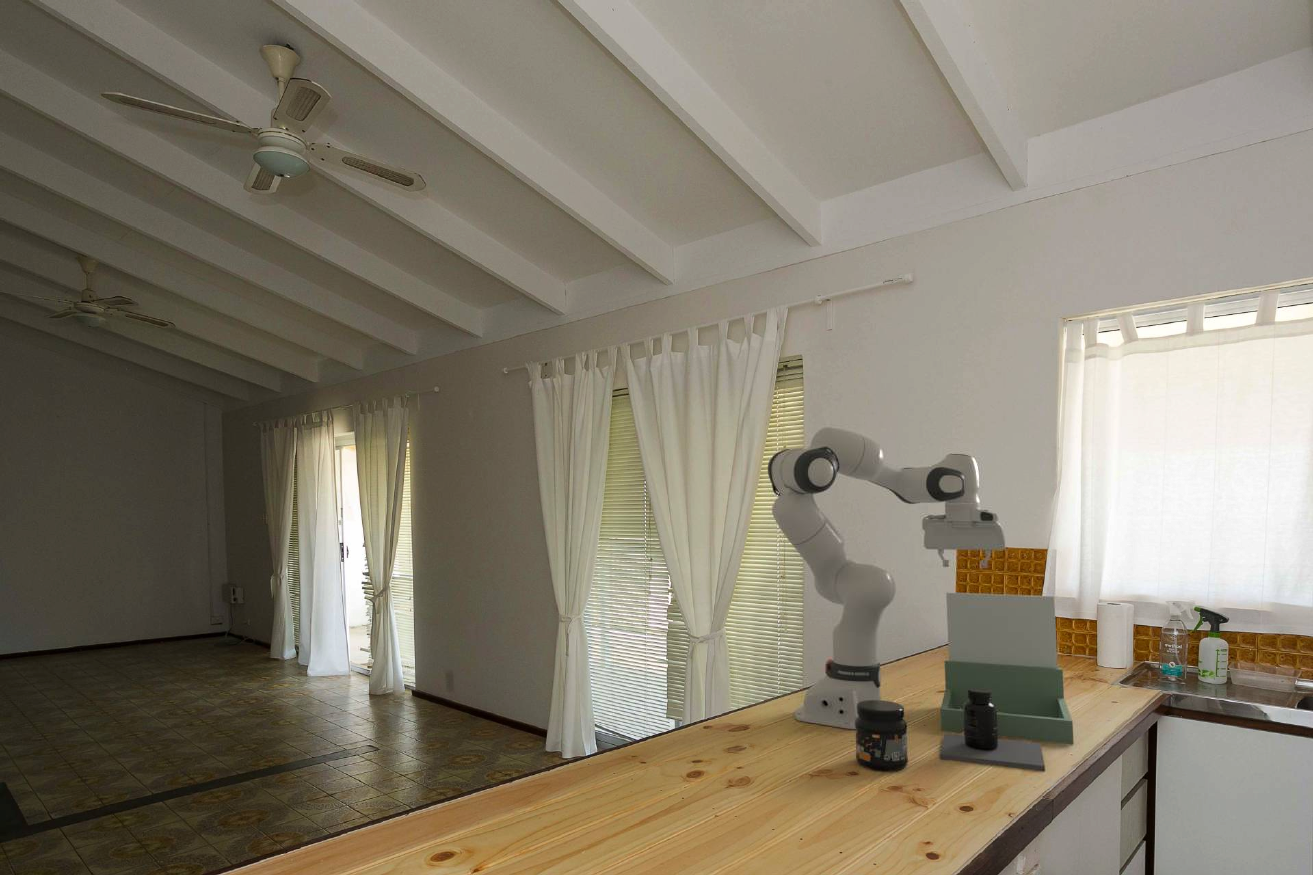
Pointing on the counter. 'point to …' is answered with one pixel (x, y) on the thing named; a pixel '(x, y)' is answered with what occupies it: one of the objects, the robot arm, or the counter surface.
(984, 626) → the cold frame
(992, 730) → the supplement bottle
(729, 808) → the counter surface
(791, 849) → the counter surface
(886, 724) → the supplement container
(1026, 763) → the mat
